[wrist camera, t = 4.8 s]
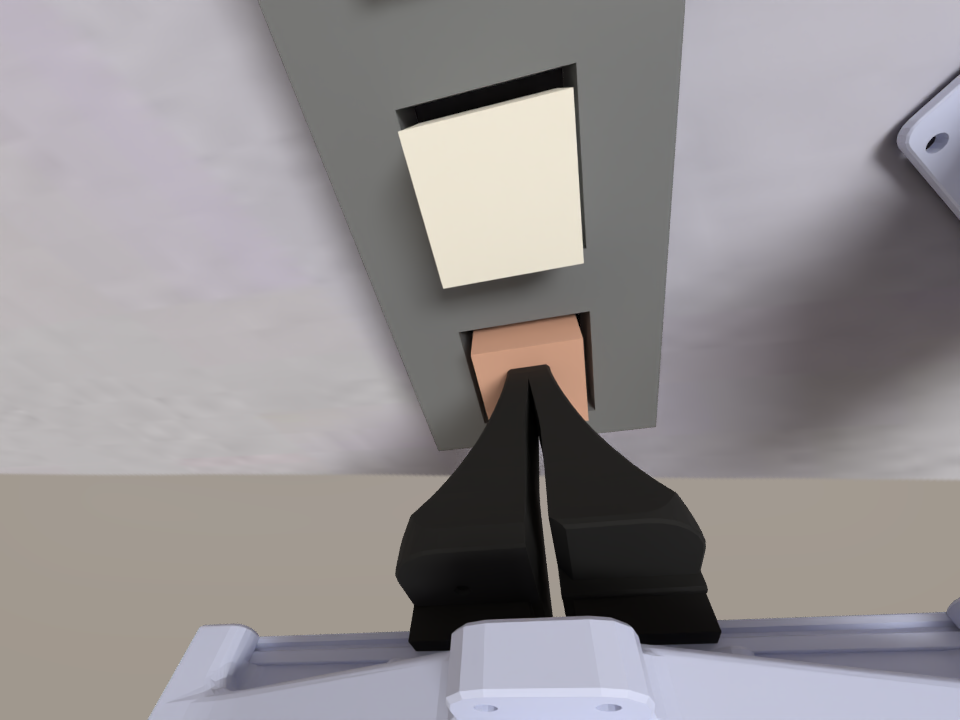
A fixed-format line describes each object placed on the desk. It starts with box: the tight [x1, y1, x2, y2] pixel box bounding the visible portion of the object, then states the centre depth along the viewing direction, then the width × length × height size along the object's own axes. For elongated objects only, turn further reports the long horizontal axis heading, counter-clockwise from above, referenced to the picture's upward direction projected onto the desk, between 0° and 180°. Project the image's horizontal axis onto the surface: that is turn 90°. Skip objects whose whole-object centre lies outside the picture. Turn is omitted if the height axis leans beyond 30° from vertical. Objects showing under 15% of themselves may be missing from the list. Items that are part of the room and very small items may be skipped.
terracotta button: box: [471, 314, 589, 421], centre depth 14 cm, size 4×4×3 cm
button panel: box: [258, 0, 685, 451], centre depth 11 cm, size 20×9×2 cm, turn 12°
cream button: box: [398, 87, 584, 289], centre depth 10 cm, size 4×4×3 cm
